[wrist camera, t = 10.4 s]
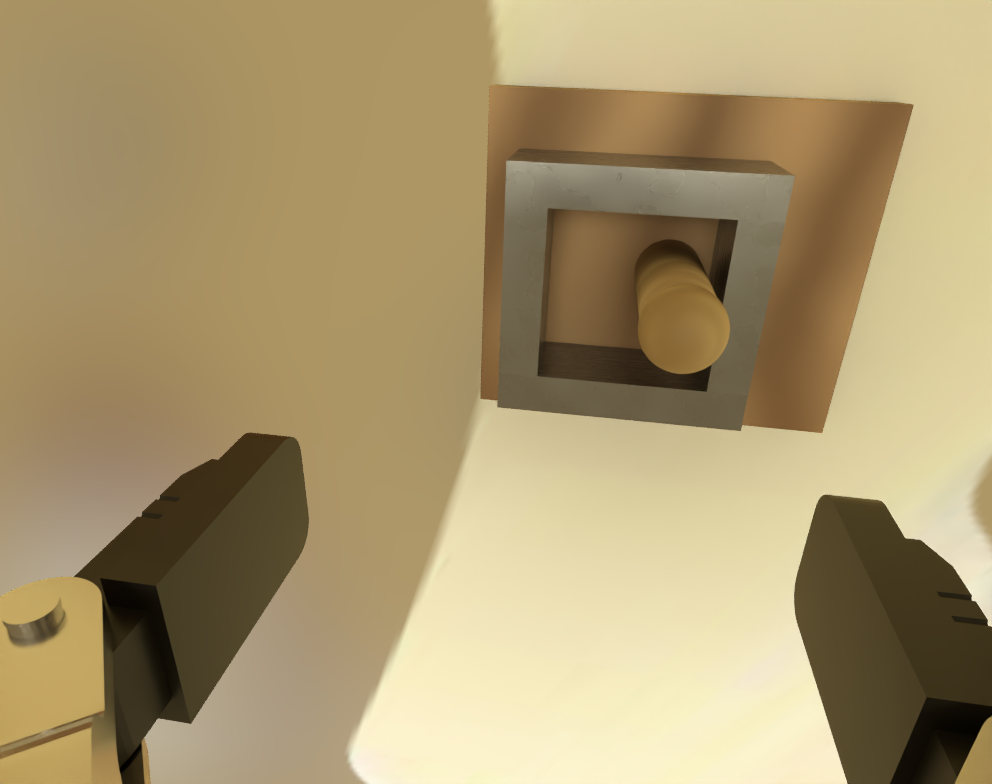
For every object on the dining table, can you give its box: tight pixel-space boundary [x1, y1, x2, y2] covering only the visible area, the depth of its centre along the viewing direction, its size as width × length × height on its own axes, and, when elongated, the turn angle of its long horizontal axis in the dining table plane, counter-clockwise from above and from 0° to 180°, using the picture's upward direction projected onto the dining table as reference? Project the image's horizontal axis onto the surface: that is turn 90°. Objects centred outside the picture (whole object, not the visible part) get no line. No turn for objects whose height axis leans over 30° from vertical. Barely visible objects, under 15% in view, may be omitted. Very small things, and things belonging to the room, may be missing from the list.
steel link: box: [498, 148, 795, 431], centre depth 28 cm, size 10×10×4 cm
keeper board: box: [481, 85, 913, 433], centre depth 26 cm, size 16×14×10 cm
